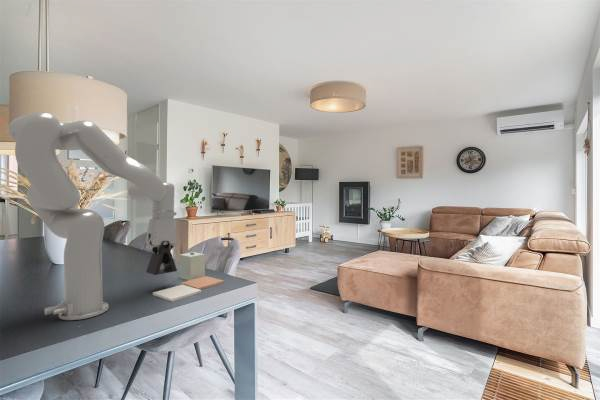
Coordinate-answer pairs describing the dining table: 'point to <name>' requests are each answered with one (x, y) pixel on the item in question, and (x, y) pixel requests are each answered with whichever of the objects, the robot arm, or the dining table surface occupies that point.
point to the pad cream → (177, 292)
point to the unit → (191, 265)
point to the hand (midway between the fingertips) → (161, 263)
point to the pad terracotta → (202, 282)
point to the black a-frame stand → (157, 260)
